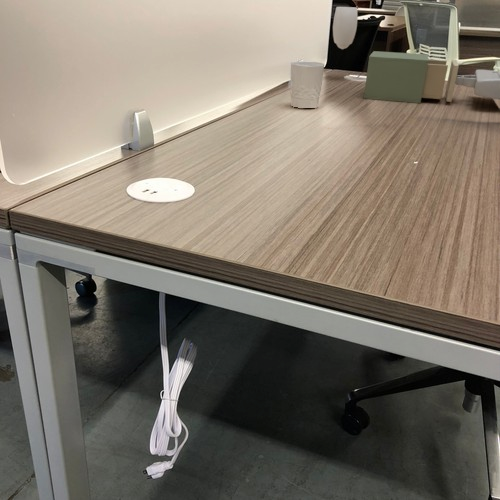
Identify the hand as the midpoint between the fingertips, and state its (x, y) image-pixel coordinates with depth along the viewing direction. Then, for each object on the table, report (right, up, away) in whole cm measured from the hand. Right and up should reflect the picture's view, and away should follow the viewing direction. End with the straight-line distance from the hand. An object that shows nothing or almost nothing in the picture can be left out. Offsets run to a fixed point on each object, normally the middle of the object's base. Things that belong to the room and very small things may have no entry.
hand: (455, 79), depth 132 cm
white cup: (-41, -9, -8) cm, 42 cm away
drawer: (-6, -3, +4) cm, 8 cm away
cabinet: (-15, -2, +6) cm, 16 cm away
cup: (-25, +10, +30) cm, 40 cm away
